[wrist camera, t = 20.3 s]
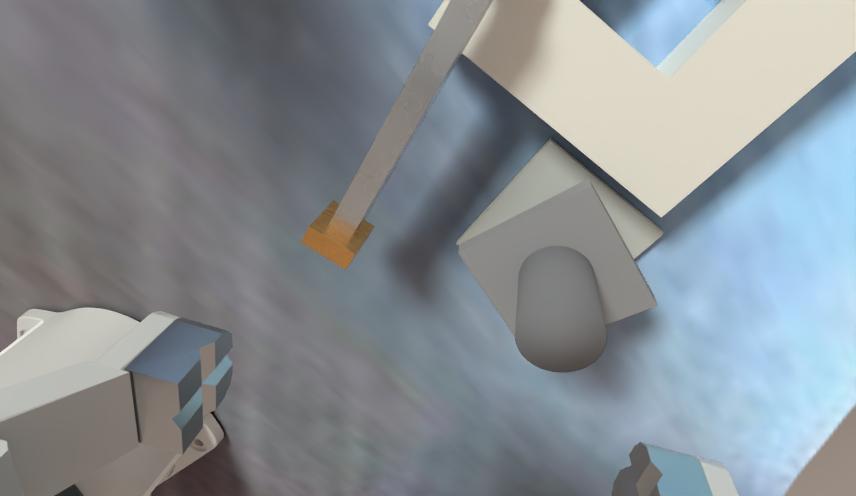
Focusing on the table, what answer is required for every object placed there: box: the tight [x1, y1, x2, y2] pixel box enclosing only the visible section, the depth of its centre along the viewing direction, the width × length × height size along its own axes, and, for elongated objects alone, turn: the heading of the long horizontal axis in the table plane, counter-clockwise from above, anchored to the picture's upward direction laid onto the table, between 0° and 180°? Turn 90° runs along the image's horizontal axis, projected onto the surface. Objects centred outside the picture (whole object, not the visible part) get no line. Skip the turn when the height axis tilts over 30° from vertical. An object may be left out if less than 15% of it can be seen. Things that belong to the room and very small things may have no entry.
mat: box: [456, 138, 664, 259], centre depth 28 cm, size 8×8×1 cm
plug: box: [458, 179, 658, 372], centre depth 24 cm, size 7×7×9 cm
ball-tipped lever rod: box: [301, 0, 493, 269], centre depth 21 cm, size 16×2×4 cm, turn 150°
